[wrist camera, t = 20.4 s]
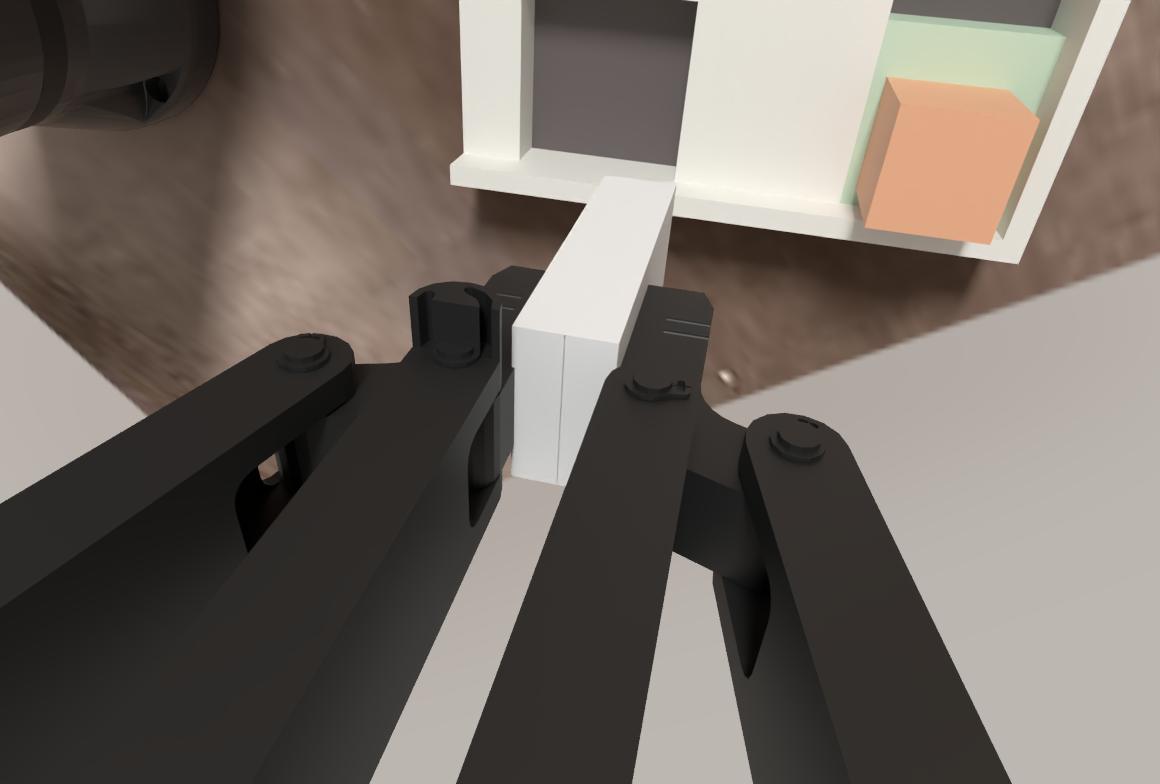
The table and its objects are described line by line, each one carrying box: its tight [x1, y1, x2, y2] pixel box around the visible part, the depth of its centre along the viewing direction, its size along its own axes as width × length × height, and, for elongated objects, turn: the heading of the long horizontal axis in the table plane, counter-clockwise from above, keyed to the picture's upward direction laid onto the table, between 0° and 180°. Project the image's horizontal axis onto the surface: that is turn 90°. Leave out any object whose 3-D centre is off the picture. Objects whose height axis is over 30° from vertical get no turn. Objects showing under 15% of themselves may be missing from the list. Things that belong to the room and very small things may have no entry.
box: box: [450, 0, 1131, 264], centre depth 33 cm, size 27×18×4 cm, turn 87°
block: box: [856, 77, 1040, 245], centre depth 32 cm, size 5×5×5 cm
